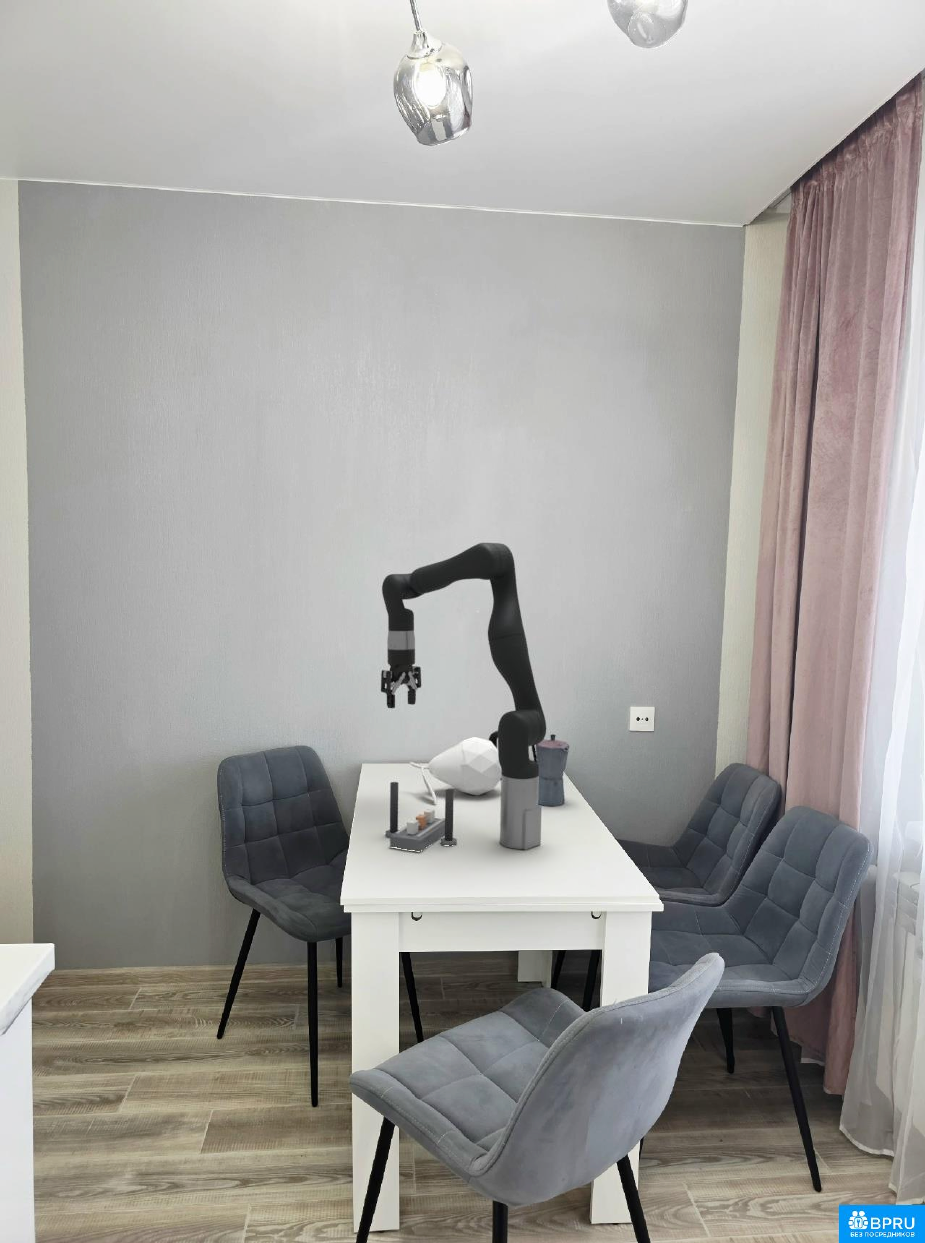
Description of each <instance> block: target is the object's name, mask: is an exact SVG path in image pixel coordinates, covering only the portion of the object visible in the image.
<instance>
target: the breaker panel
mask: <svg viewBox="0 0 925 1243" xmlns="http://www.w3.org/2000/svg"><path fill="white" fill-rule="evenodd" d="M398 830H399V831H397V832H396V833H394V834H393V835H391V836H390V838H389V839H390V840H389V841H390V842H389V843H390V844H389V845H390V846H389V848H390V847H397V848H401V849H407V850H415V851H420V852H421V850H424V849H425V848H426V847H428V846H429V845H431V844H432V845H434V844H435V843H436V842H437V840H438V841H439V840H441V839H442V838H444V837H445V817H442V818H436V817H435V821H433V822H432V823H427V826H426V827H424V828H423V829H419V828H418V832H417V833H415V834H414V835H412V834H407V825H405V826H404V827H402V828H401V829H398ZM441 837H442V838H441ZM434 842H435V843H434ZM432 845H431V846H432ZM429 847H430V846H429ZM429 847H428V848H429ZM425 850H426V849H425ZM425 850H424V851H425ZM421 853H422V852H421Z"/></svg>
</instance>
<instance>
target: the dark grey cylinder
mask: <svg viewBox="0 0 925 1243" xmlns="http://www.w3.org/2000/svg"><path fill="white" fill-rule="evenodd" d="M444 791H445V793H444V796H445V800H444V802H445V804H444V818H445V835H444V837H442V838H440V845H441V844H442V845H441V846H443V845H449V846H448V847H453V846H452V845H455V846H457V844H458V839H457V838H456V837H454V798H455V794H454V792H455V791H454V789H453V788H445V790H444Z"/></svg>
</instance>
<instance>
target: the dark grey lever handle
mask: <svg viewBox="0 0 925 1243" xmlns="http://www.w3.org/2000/svg"><path fill="white" fill-rule="evenodd" d="M389 785H390V786H389V788H390V790H389V793H390V796H389V797H390V798H389V799H390V800H389V829H387V830H386V831H385V837H386V836H387V837H386V838H388V837H390V836H391V835H393V834H394V833H396V832H397V831H399V830H400V829H399V782H397V781H391V782H390V784H389Z"/></svg>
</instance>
